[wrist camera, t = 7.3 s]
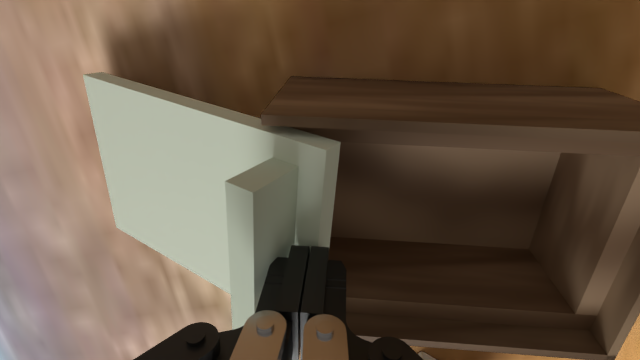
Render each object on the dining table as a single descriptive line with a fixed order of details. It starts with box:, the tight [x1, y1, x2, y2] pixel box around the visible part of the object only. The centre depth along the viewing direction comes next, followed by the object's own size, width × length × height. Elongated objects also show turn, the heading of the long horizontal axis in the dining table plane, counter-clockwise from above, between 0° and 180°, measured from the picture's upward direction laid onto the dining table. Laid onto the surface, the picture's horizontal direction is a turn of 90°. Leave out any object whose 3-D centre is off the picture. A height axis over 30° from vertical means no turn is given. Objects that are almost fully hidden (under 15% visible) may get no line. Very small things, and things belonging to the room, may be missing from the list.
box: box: [261, 76, 640, 360], centre depth 19 cm, size 11×16×7 cm
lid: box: [83, 72, 341, 330], centre depth 17 cm, size 10×15×4 cm, turn 86°
